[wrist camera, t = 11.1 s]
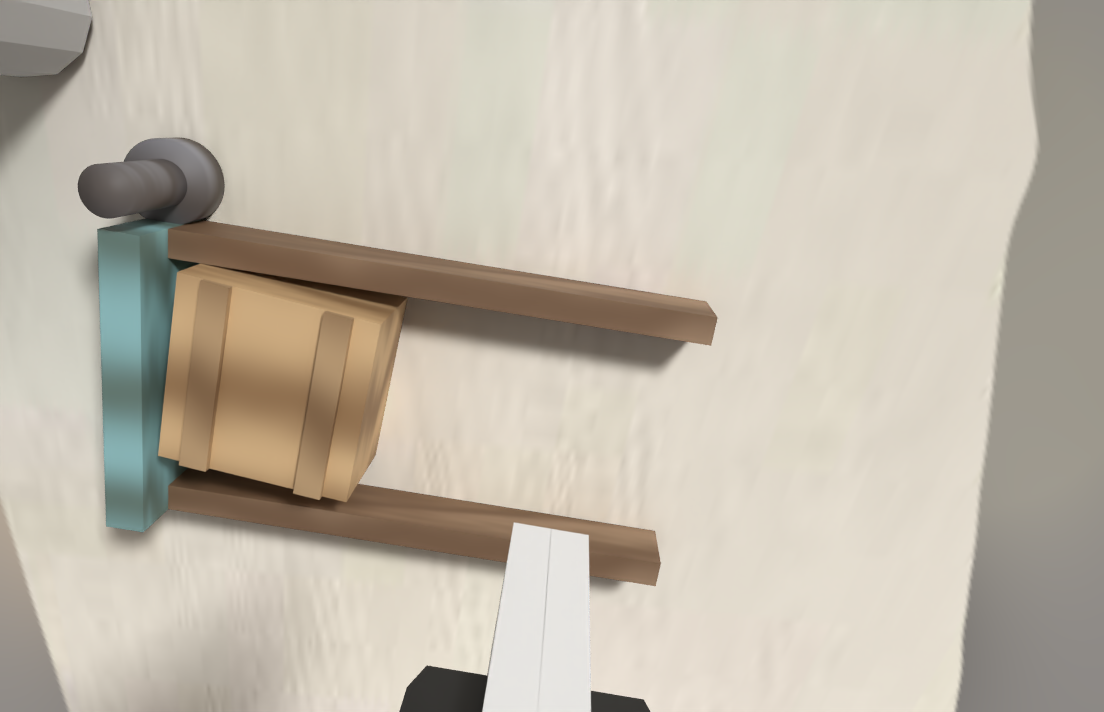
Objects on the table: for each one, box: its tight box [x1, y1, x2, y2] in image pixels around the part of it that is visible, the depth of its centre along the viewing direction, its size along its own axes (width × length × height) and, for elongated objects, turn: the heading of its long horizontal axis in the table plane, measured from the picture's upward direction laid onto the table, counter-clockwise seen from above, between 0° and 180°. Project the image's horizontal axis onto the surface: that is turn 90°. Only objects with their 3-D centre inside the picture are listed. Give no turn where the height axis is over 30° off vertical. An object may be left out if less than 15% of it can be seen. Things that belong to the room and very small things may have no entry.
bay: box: [78, 138, 717, 586], centre depth 39 cm, size 20×31×7 cm, turn 81°
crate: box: [158, 263, 407, 502], centre depth 40 cm, size 10×10×6 cm
